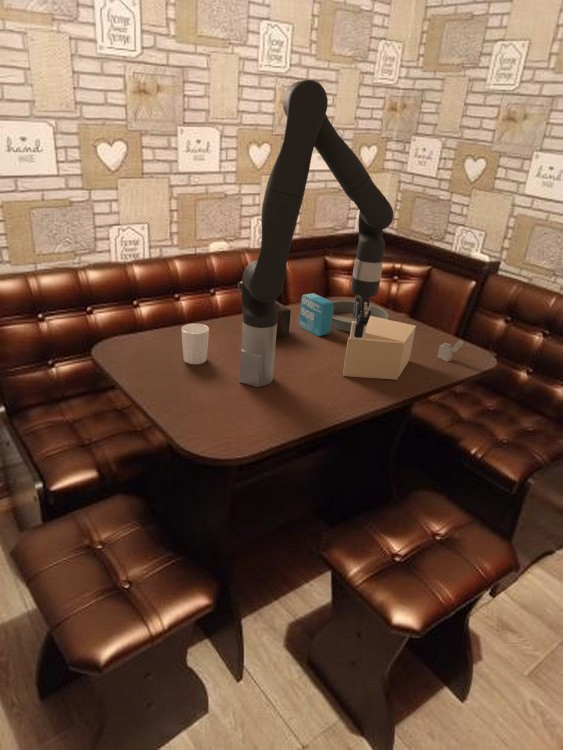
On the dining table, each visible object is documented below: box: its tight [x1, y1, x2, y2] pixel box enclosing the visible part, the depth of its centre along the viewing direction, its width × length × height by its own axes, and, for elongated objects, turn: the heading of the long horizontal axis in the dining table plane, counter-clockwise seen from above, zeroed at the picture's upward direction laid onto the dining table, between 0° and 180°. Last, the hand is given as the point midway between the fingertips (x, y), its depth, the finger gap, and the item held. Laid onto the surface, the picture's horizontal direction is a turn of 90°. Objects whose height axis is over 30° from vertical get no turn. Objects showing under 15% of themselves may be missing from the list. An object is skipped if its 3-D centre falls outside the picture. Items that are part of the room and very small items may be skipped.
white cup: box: [181, 323, 210, 365], centre depth 158 cm, size 8×8×10 cm
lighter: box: [437, 339, 465, 362], centre depth 172 cm, size 7×2×8 cm, turn 43°
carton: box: [365, 316, 417, 377], centre depth 165 cm, size 15×16×12 cm
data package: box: [298, 292, 333, 337], centre depth 186 cm, size 12×4×12 cm, turn 37°
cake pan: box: [331, 300, 390, 333], centre depth 198 cm, size 25×25×4 cm
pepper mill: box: [237, 280, 292, 339], centre depth 178 cm, size 16×11×18 cm
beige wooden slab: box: [342, 321, 404, 380], centre depth 154 cm, size 1×16×17 cm, turn 89°
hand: (357, 335), depth 152 cm, fingers closed
